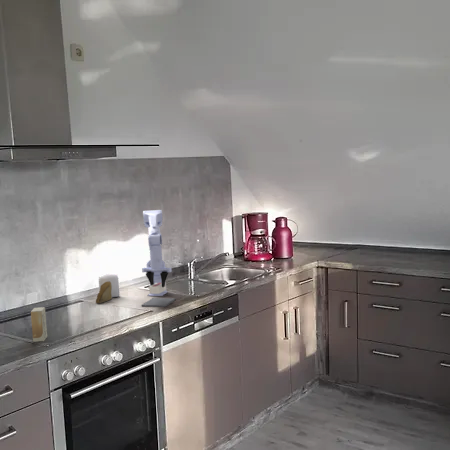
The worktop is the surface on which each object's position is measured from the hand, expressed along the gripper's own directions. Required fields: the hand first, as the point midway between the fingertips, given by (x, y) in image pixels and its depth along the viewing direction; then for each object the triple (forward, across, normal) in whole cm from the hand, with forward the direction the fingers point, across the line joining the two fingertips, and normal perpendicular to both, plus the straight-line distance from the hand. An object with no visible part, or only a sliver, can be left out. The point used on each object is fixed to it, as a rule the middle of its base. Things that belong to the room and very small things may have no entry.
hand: (157, 286), depth 276 cm
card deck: (+2, 0, 0) cm, 2 cm away
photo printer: (+8, -31, +11) cm, 34 cm away
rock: (+8, -31, +3) cm, 32 cm away
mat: (+8, 0, 0) cm, 8 cm away
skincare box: (+8, -26, -62) cm, 68 cm away
